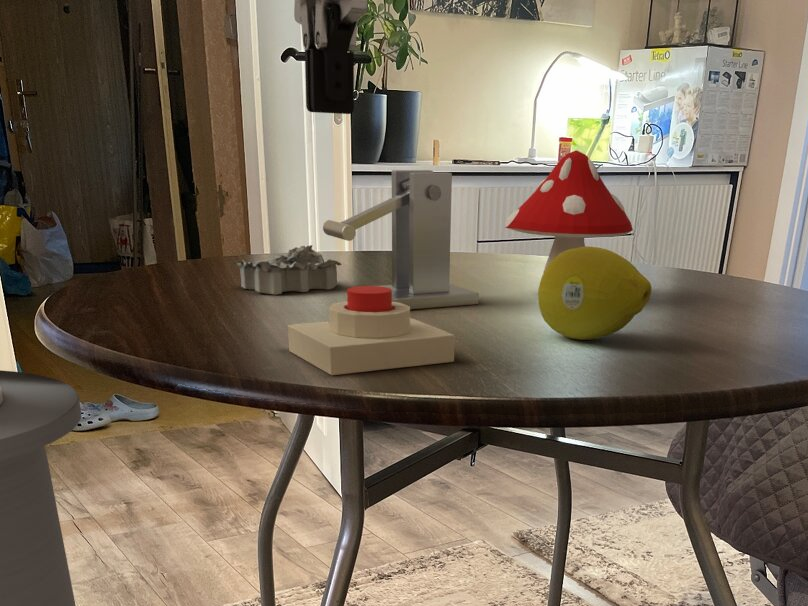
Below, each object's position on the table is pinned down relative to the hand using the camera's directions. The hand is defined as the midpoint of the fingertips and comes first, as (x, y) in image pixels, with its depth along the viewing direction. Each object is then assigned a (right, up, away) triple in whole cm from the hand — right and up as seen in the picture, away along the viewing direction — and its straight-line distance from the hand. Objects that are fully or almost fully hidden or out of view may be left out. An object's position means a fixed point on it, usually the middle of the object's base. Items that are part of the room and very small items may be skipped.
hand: (330, 112), depth 68 cm
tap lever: (+3, +2, +25) cm, 25 cm away
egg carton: (-9, -1, +36) cm, 37 cm away
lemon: (+22, -13, +16) cm, 30 cm away
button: (+3, -13, +6) cm, 15 cm away
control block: (+2, -16, +8) cm, 18 cm away
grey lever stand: (+6, -4, +31) cm, 32 cm away
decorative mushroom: (+22, -2, +36) cm, 42 cm away
